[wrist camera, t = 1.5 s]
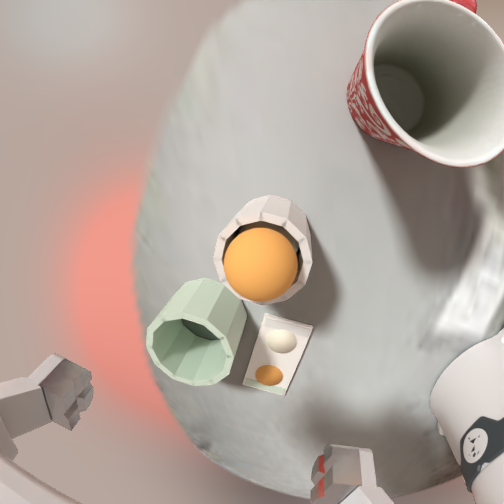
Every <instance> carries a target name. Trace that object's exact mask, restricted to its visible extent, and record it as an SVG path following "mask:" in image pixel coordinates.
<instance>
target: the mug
mask: <svg viewBox="0 0 504 504" xmlns="http://www.w3.org/2000/svg"><path fill="white" fill-rule="evenodd" d="M476 7H477V4H476V0H400V1H397V2H395V3H394V4H392V5H390V6H389V7H387V8H386V9H385V10H384V11H383V12H382V13H381V14H380V15H379V16H378V17H377V18H376V20H375V21H374V23H373V24H372V26H371V28H370V30H369V33H368V36H367V39H366V43H365V49H364V52H363V54H362V56H361V58H360V61H359V62H358V64H357V66H356V68H355V71H354V73H353V75H352V77H351V79H350V81H349V84H348V88H347V103H348V108H349V111H350V113H351V116H352V117H353V119H354V121H355V122H356V123H357V125H358V126H359V127H360V128H361V129H362V130H363V131H364V132H366V133H367V134H369V135H370V136H372V137H374V138H376V139H379V140H381V141H385V142H387V143H391V144H394V145H398V146H401V147H404V148H406V149H410V150H413V151H415V152H417V153H418V154H420V155H421V156H423V157H425V158H427V159H429V160H431V161H433V162H436V163H439V164H442V165H446V166H450V167H460V168H465V167H473V166H479V165H482V164H484V163H486V162H489V161H490V160H492V159H494V158H495V157H496V156H498V155H499V154H500V153H501V152H502V151H503V150H504V43H503V42H502V40H501V39H500V38H499V36H498V35H497V34H496V33H495V32H494V30H493V29H492V28H491V27H490V26H489V25H488V24H487V23H486V22H485V21H483V20H482V19H481V18H480V17H479V16H478V15H476V9H477V8H476Z"/></svg>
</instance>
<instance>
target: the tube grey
mask: <svg viewBox="0 0 504 504" xmlns="http://www.w3.org/2000/svg"><path fill="white" fill-rule="evenodd" d="M241 225H243V226H242V227H241ZM240 227H241V230H240ZM253 228H268V229H272V230H275V231H277V232H279V233H281V234H282V235H283V236H285V237H286V238H287V239H288V240H289V241H290V243H291V244H292V246H293V248H294V250H295V252H296V256H297V263H298V267H297V273H296V277H295V279H294V281H293V283H292V285H291V286H290V288H289V289H288V290H287V291H286V292H285V293H284V294H282V295H281V296H279V297H277V298H275V299H273V300H269V301H252V300H249V299H246V298H244V297H242V296H240V295H239V294H238V293H237V292H235V291H234V290H233V288H232V287H231V286H230V284H229V283H228V281H227V279H226V276H225V272H224V257H225V253H226V251H227V249H228V246H229V245H230V243H231V242H232V241H233V240H234V239H235V238H236V237H237V236H238V235H239V234H241V233H242V232H244V231H247V230H249V229H253ZM239 231H240V232H239ZM298 246H300V248H299V250H298ZM213 261H214V264H215V266H216V269H217V272H218V275H219V278H220V281H221V283H223V284H224V285H225V286H226V287H227V288H228V289H229V290H230V291H231V292H232V293H233V294H234V295H236V296H237V297H238V298H239V299H242V300H246V301H249V302H253V303H256V304H260V305H267V304H272V303H277V302H282V301H287V300H288V299H289V298H290V297H291V296H293V295H294V294H295V293H296V292H297V291H299V290H300V289H301V288H302V287H303V286H305V283H306V280H307V277H308V274H309V271H310V268H311V265H312V263H313V262H312V247H311V234H310V230H309V226H308V222H307V218H306V215H305V214H304V213H303V212H302V211H301V210H300V209H299V208H298V207H297V206H296V205H295V204H294V203H293V202H292V201H291V200H288V199H285V198H281V197H278V196H274V195H267V196H263V197H260V198H256V199H252V200H250V201H249V202H248V203H247V204H246V205H245V206H244V207H243V208H242V209H241V210H240V211H239V212H238V213H237V214H236V215H235V217H234V218H233V219H232V220H231V221H230V222H229V224H228V225H227V226H226V227H225V228H224V229H223V231H222V232H221V233H220V234H219V235H218V238H217V243H216V248H215V252H214V257H213Z"/></svg>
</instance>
